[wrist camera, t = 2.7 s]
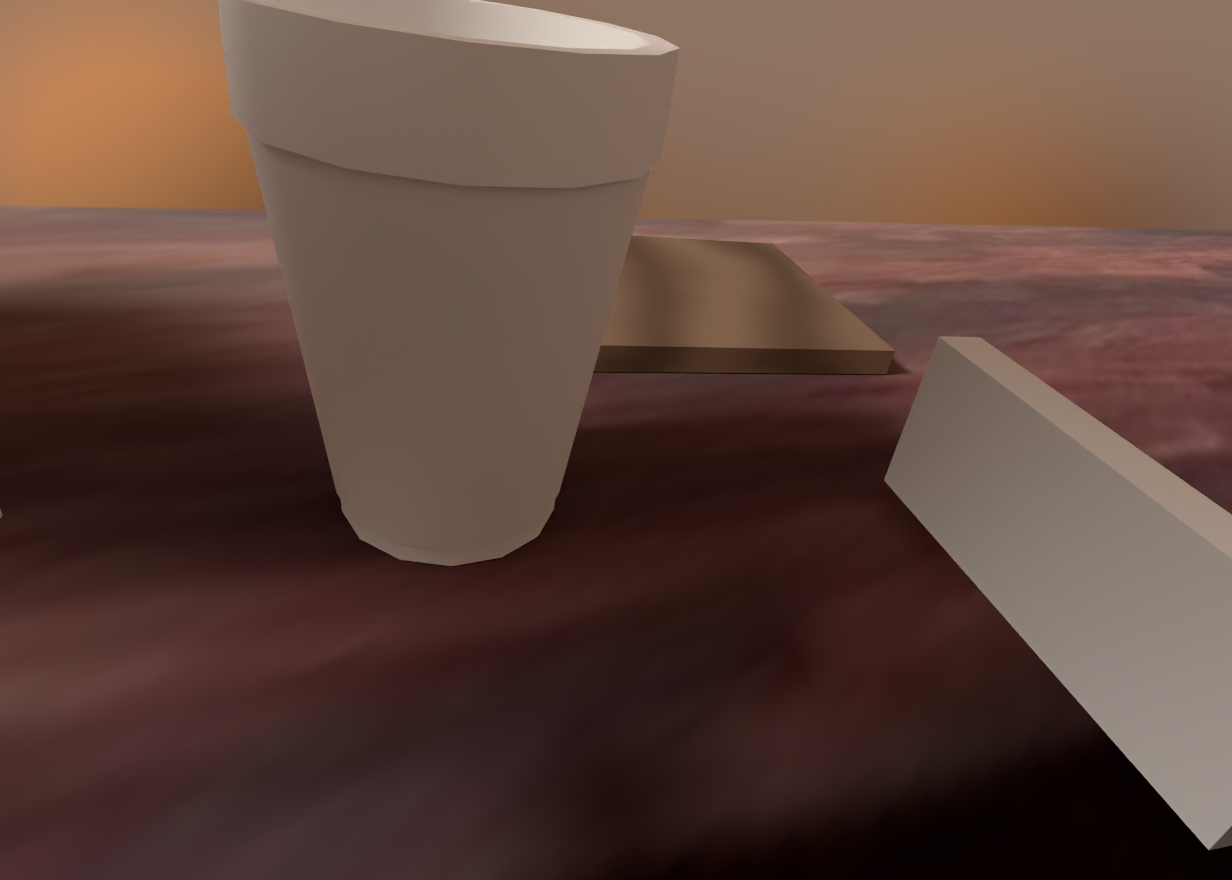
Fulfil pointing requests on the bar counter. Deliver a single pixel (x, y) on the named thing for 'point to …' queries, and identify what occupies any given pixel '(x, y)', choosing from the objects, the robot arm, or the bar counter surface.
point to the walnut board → (729, 314)
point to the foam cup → (447, 241)
